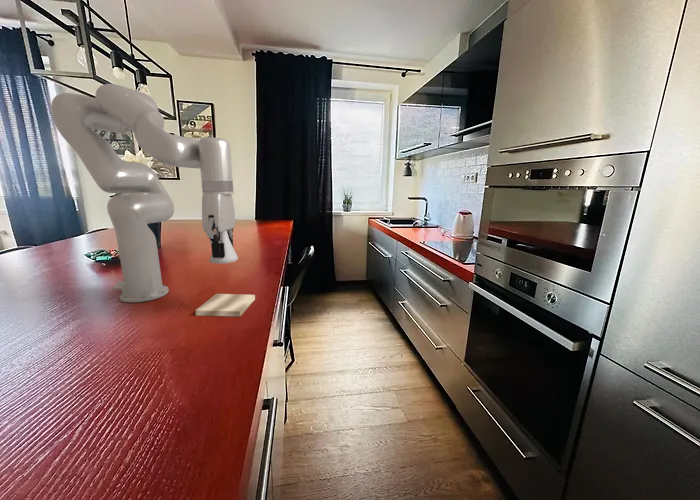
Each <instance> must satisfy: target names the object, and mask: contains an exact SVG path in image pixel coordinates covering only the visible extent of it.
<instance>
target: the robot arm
mask: <svg viewBox="0 0 700 500" xmlns="http://www.w3.org/2000/svg"><path fill="white" fill-rule="evenodd" d="M50 105H51V106H50V112H51V117H52V121H53V123H54V125H55V128H56V129H57V131H58V133H60V135H61V136H62V138H63V139H64V140H65V141H66V143H68V144H69V146H70V147H71V148H72V149H73V150H74V151H75V153H76V154H77V156H78V157H79V159H80V160H81V163H83V166H85V168H86V169H87V171H88V173H89V174H90V176H91V178H92V179H93V181H94V182H95V183H96V185H97V186H98V187H99V189H100V190H102V191H103V192H105V193H108V194H115V195H113V196H112V197H110V199H108V202H107V204H106V205H107V206H106V208H107V214H108V216H109V219H110V221H111V223H112V226H113V229H114V233H115V237H116V242H117V248H118V254H119V260H120V267H121V273H122V277H123V278H122V279H123V280H122V281H117V282H115V285H114V286H113V289H114V290H117V291H118V290H121V293H120V294H119V300H120V301H121V302H124V303H132V304H133V303H144V302H148V301H153V300H157V299H160V298H162V297H164V296H166V295H167V294H168V293H169V291H170V290H169V287H168V286H167V285H163V281H162V275H161V274H162V271H161V265H160V259H159V249H158V245H157V244H158V243H157V242H158V241H157V238H156V236H155V233H154V232H153V230H152V229H151V228H150V227H149V226H148V225H149V224H155V223H161V222H166V221H168V220H170V219H171V218H172V217H173V216H174V212H175V206H174V202H173V200H172V198H171V197H170V195H169V193H168V191H167V190H166V188H165V187H164V185H163V184H162V182H161V181H160V178H159V177H158V176H157V174H156V173H155V171H154V170H153V169H152V168H151V167H149V166H148V165H147V164H145V163H142V162H138V161H127V160H124V159H122V158H121V157H120V156H119V155H118V154H117V152H116V150H115V149H114V147H113V146H112V145H111V143H110V142H109V141H108V140H106V138H104V137H103V136H102V135H100V134H99V133H98V132H96V131H95V130H98V131H103V132H110V133H116V134H117V133H118V134H123V133H125V134H126V133H128V132H133V133H134V134H133V135H134V138H135V141H136V143H137V144H138V146H139V148H141V150H142V151H143V152H145V153H146V154H148V155H149V156H150V157H152V158H153V159H155V160H156V161H158V162H160V163H161V164H163V165H165V166H169V167H176V168H188V169H200V181H201V191H202V197H201V221H202V223H201V225H202V230H203V232H205V235H206V236H207V237H208V239H209V242H210V244H211V254H212V257H213V258H224V257H225V249H224V243H222V238H223V231H226V230H227V233H228V237H229V240H230V242H231V244H232V246H233V247H234V239H233V238H234V234H233V233H234V228H235V226H236V215H235V213H236V212H235V205H234V199H233V194H234V182H233V170H232V169H233V167H232V165H233V164H232V153H231V152H232V151H231V144H230V143H229V141H228V140H226V139H225V138H220V137H210V136H207V137H201V138H200V139H196V138H190V137H186V136H182V135H176V134H172V133H170V132H168V131H166V130H165V129H164V128H165V119H164V116H163V115H162V113H161V112H160V111H159V107H158V105H157V103H156V101H155V100H154V99H153V98H152V96H150V95H148V94H147V93H144V92H141V91H138V90H136V89H133V88H129V87H126V86H123V85H120V84H115V83H105V84H102V85H100V86H99V87H97V89H96V91H95V97H92V96H88V95H85V94H79V93H73V92H68V93H67V92H64V93H58V95H55V96H54V97H53V99H52V100H51V104H50ZM216 229H217V230H218V231H216ZM217 234H219V237H218V236H217Z"/></svg>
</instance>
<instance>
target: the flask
mask: <svg viewBox="0 0 700 500" xmlns="http://www.w3.org/2000/svg"><path fill="white" fill-rule="evenodd" d="M215 231H218V230H217V229H215ZM217 236H218V237H219V234H217ZM222 243H224V249H225V257H224V258H213V257H212V253H211V254H210V257H209V263H212V264H229V263H233V262H237V260H238V259H239V257H238V254H237V252H236V251H235V249H234V245H233V246H232V244H231V242H230V240H229V237H228V233H227V230H226V231H223V238H222Z"/></svg>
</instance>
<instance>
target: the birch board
mask: <svg viewBox="0 0 700 500" xmlns="http://www.w3.org/2000/svg"><path fill="white" fill-rule="evenodd" d="M255 300H256V295H255V294H241V293H239V294H237V293H236V294H235V293H234V294H232V293H215V294H214V295H213V296H211V297H210V298H209V299H208V300H207V301H204V302H203V304H201V305H200V306H199V307H198V308H196V309H195V316H199V317H200V316H204V317H207V316H208V317H237V318H238V317H241V316H242V315H243V314H244V313H245V312H246V310H247V309H248V308H249V307H250V306H251V305H252V304H253V302H254V301H255Z"/></svg>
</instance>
